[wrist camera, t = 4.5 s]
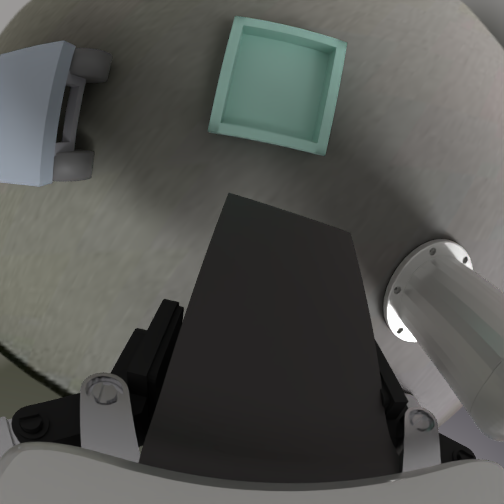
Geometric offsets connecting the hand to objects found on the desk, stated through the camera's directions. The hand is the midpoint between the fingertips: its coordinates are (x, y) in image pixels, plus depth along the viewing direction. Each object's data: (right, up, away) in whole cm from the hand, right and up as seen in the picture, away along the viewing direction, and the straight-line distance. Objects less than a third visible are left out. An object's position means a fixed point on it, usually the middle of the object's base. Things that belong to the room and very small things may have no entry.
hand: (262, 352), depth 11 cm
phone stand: (0, +2, +5) cm, 5 cm away
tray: (+2, +17, +11) cm, 21 cm away
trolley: (-20, +17, +10) cm, 28 cm away
